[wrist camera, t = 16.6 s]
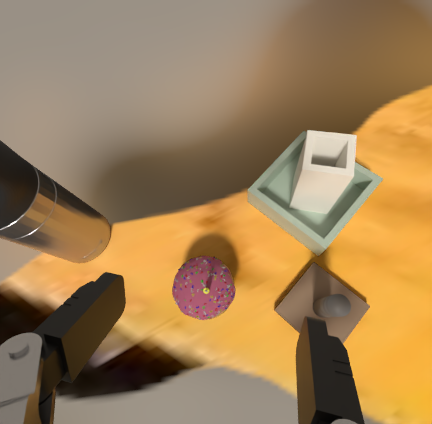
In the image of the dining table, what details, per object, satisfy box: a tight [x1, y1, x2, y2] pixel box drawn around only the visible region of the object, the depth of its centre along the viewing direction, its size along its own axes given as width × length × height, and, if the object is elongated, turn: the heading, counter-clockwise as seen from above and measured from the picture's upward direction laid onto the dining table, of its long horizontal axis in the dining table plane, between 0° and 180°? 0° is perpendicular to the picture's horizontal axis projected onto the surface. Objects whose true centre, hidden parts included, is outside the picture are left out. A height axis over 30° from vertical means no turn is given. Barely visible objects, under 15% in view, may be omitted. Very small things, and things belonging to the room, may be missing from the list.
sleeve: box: [289, 130, 357, 214], centre depth 38 cm, size 6×6×12 cm
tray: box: [248, 131, 383, 256], centre depth 43 cm, size 14×14×4 cm
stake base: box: [275, 262, 370, 344], centre depth 34 cm, size 9×9×9 cm
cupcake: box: [172, 256, 235, 320], centre depth 36 cm, size 9×8×12 cm
